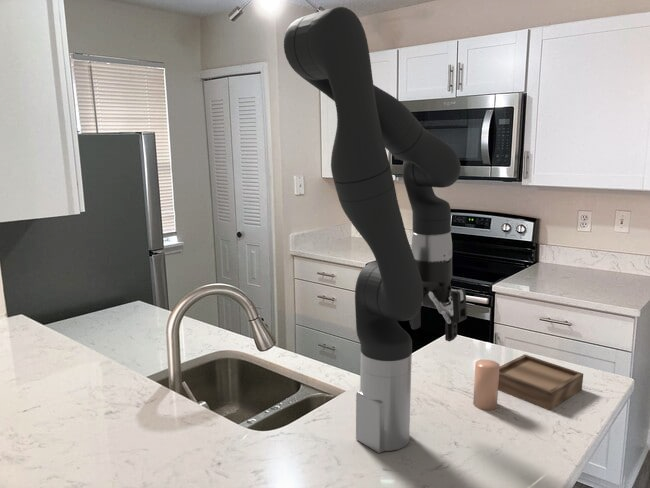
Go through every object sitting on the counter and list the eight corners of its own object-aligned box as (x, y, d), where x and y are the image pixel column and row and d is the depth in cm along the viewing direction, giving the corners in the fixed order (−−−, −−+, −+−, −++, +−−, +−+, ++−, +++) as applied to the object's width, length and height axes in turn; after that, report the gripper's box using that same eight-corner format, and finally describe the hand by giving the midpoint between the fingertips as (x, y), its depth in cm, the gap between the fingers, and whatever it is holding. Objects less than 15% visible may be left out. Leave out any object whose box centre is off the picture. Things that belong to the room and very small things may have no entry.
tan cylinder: (488, 412, 108) (490, 371, 107) (468, 403, 112) (470, 363, 110) (501, 405, 111) (504, 364, 110) (481, 396, 115) (484, 357, 113)
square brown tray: (550, 410, 109) (551, 393, 108) (490, 386, 120) (491, 370, 119) (581, 389, 118) (583, 373, 117) (523, 369, 129) (524, 354, 128)
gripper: (390, 252, 104) (392, 329, 108) (450, 265, 93) (450, 350, 97) (415, 245, 109) (417, 319, 113) (475, 256, 98) (474, 338, 102)
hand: (432, 333), depth 105 cm, fingers open, 8 cm apart
